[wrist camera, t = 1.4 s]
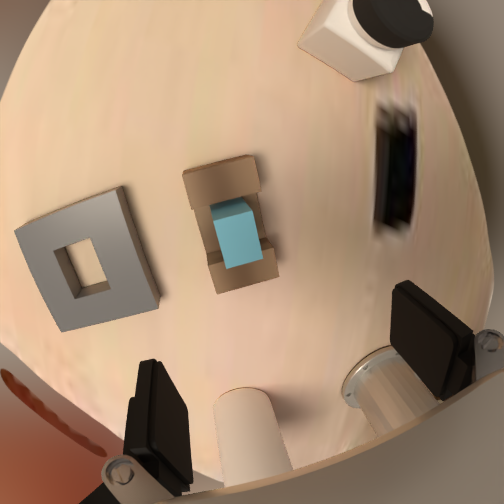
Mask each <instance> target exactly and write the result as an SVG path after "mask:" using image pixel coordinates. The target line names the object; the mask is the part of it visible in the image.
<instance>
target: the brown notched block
mask: <svg viewBox="0 0 504 504" xmlns="http://www.w3.org/2000/svg"><path fill="white" fill-rule="evenodd" d="M182 177H183V181H184V184H185V188H186V192H187V195H188V199H189V202H190V206H191V209H192V210H193V209H194V212H195V216H196V219H197V223H198V226H199V230H200V233H201V237H202V240H203V244H204V247H205V250H206V254H207V262H208V267H209V271H210V274H211V277H212V280H213V283H214V287H215V290H216V293H217V294H221V293H224V292H228V291H231V290H235V289H238V288H242V287H246V286H249V285H253V284H256V283H260V282H263V281H267V280H270V279H274V278H277V277H279V272H278V267H277V262H276V257H275V253H274V248H273V246H272V245H271V243H270V242H269V241H268V239H267V238H266V235H265V231H264V226H263V221H262V217H261V212H260V208H259V203H258V199H257V194H256V193H257V192H261V186H260V182H259V177H258V173H257V168H256V164H255V159H254V157H253V156H250V155H243V156H239V157H235V158H231V159H226V160H222V161H219V162H215V163H211V164H207V165H203V166H200V167H196V168H192V169H189V170H185V171H183V174H182ZM237 197H242V198H243V200H244V201H245V202H246V203H247V205H248V206H249V207H250V208H251V209H252V211H253V215H254V220H255V224H256V229H257V233H258V237H259V242H260V246H261V251H262V255H263V259H260V260H257V261H253V262H250V263H246V264H243V265H239V266H235V267H232V268H228V269H226V266H225V262H224V259H223V255H222V251H221V248H220V244H219V241H218V237H217V233H216V230H215V226H214V222H213V218H212V214H211V210H210V206H209V205H211V204H215V203H218V202H222V201H226V200H230V199H233V198H237Z"/></svg>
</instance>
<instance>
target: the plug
mask: <svg viewBox="0 0 504 504" xmlns="http://www.w3.org/2000/svg"><path fill="white" fill-rule="evenodd" d="M209 206H210V210H211V214H212V218H213V222H214V226H215V230H216V233H217V237H218V241H219V244H220V248H221V251H222V255H223V259H224V262H225V266H226V269H228V268H232V267H235V266H239V265H243V264H246V263H250V262H253V261H257V260H260V259H263V255H262V251H261V246H260V242H259V237H258V233H257V229H256V224H255V220H254V215H253V211H252V209H251V208H250V207H249V206H248V205H247V203H246V202H245V201H244V200H243V198H242V197H237V198H233V199H230V200H226V201H222V202H218V203H215V204H211V205H209Z"/></svg>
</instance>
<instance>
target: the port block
mask: <svg viewBox="0 0 504 504" xmlns="http://www.w3.org/2000/svg"><path fill="white" fill-rule="evenodd" d="M14 232H15V235H16V237H17V240H18V243H19V245H20V248H21V250H22V253H23V255H24V258H25V260H26V262H27V265H28V267H29V269H30V272H31V274H32V276H33V278H34V280H35V282H36V285H37V287H38V289H39V291H40V293H41V295H42V297H43V299H44V301H45V303H46V305H47V307H48V309H49V311H50V313H51V315H52V316H53V318H54V320H55V322H56V324H57V326H58V327H59V329H60V331H61V332H66V331H70V330H74V329H78V328H83V327H87V326H91V325H95V324H99V323H104V322H108V321H112V320H116V319H120V318H124V317H128V316H132V315H136V314H140V313H144V312H148V311H152V310H155V309H159V302H160V294H159V291H158V289H157V286H156V284H155V281H154V279H153V276H152V273H151V271H150V268H149V265H148V263H147V260H146V257H145V255H144V252H143V249H142V246H141V243H140V241H139V238H138V235H137V232H136V229H135V226H134V223H133V220H132V217H131V214H130V211H129V208H128V204H127V201H126V198H125V195H124V191H123V188H122V186H120V187H117V188H114V189H111V190H108V191H105V192H102V193H100V194H97V195H94V196H91V197H89V198H86V199H83V200H81V201H78V202H76V203H73V204H71V205H68V206H66V207H63V208H61V209H58V210H56V211H53V212H51V213H48V214H46V215H44V216H41V217H39V218H37V219H34V220H32V221H30V222H28V223H25V224H24V225H22V226H21V227H19V228H17V229H16V230H14ZM88 238H91V241H92V244H93V246H94V249H95V252H96V254H97V257H98V259H99V262H100V264H101V267H102V269H103V271H104V274H105V276H106V278H107V281H105V282H101V283H98V284H94V285H91V286H87V287H84V288H82V287H81V285H80V283H79V281H78V278H77V276H76V274H75V271H74V269H73V267H72V264H71V262H70V260H69V257H68V255H67V252H66V250H65V246H67V245H70V244H73V243H76V242H79V241H82V240H85V239H88Z"/></svg>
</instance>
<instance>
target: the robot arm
mask: <svg viewBox="0 0 504 504" xmlns="http://www.w3.org/2000/svg"><path fill="white" fill-rule="evenodd" d="M390 343H391V345H392V346H389V347H385V348H382V349H380V350H378V351H375V352H374V353H372V354H370V355H369V356H367V357H366V358H365V359H363V360H362V361H361V362H360V363H359V364H357V365H356V366H355V368H354V369H353V370H352V371H351V372H350V374H349V375H348V376H347V378H346V380H345V382H344V384H343V388H342V396H343V399H344V400H345V402H346V404H348V405H349V406H351V407H353V408H361V409H362V411H363V412H364V414H365V416H366V417H367V419H368V421H369V422H370V424H371V426H372V427H373V429H374V431H375V432H376V434H377V436H378V438H376V439H374V440H372V441H369V442H367V443H365V444H363V445H360V446H358V447H356V448H353V449H351V450H348V451H346V452H343V453H341V454H338V455H336V456H333V457H331V458H328V459H325V460H322V461H320V462H317V463H314V464H311V465H308V466H305V467H302V468H299V469H296V470H292V471H289V472H286V473H282V474H279V475H275V476H272V477H268V478H264V479H260V480H256V481H252V482H247V483H243V484H239V485H234V486H230V487H225V488H220V489H214V490H209V491H204V492H198V493H193V494H188V495H182V492H187V491H190V485H189V484H192V483H193V471H192V460H191V448H190V435H189V419H188V410H187V407H186V404H185V403H184V401H183V399H182V398H181V396H180V394H179V392H178V391H177V389H176V387H175V385H174V384H173V382H172V380H171V378H170V377H169V375H168V373H167V371H166V369H165V367H164V366H163V364H162V362H161V361H158V362H157V361H156V360H155V359H150V360H145V361H141V362H140V364H139V370H138V377H137V384H136V392H135V397H131V398H130V400H129V405H128V413H127V421H126V429H125V438H124V448H123V455H118V456H114V457H112V458H111V459H109V460H108V461H107V462H106V463H105V465H104V467H103V469H102V480H103V483H102V484H101V485H100V486H99V487H98V488H96V489H95V490H94V491H93V492H92V493H91V494H90V495H88V496H87V497H86V498H85V499H84V500H83V501H81V502H80V503H79V504H504V336H503V335H502V334H501V333H500V332H498V331H495V330H491V329H486V330H482V331H480V332H479V333H477V334H476V336H475V335H474V334H473V330H471V329H470V328H469V327H468V326H467V325H465V324H464V323H463V322H462V321H461V320H459V319H458V318H457V317H456V316H454V315H453V314H452V313H451V312H450V311H448V310H447V309H446V308H445V307H443V306H442V305H441V304H440V303H438V302H437V301H436V300H434V299H433V298H432V297H431V296H429V295H428V294H427V293H426V292H424V291H423V290H422V289H420V288H419V287H418V286H416V285H415V284H414V283H413V282H411V281H410V280H406V281H403V282H401V283H398V284H396V285H395V289H393V291H392V310H391V329H390ZM421 380H422V382H423V383H424V384H425V385H426V386H427V387H428V389H429V390H430V391H431V392H432V393H433V395H434V396H436V397H438V396H439V397H440V399H441V400H442V401H444V400H445V399H447V398H449V397H450V396H452V395H454V396H453V397H451V398H449V399H448V400H446V401H444V402H443V403H441V404H439V403H438V402H437V400H436V399H435V398H434V397H433V395H432V394H431V393H430V392H429V391H428V389H427V388H426V387H425V386H424V385H423V383H422V382H421Z"/></svg>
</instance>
